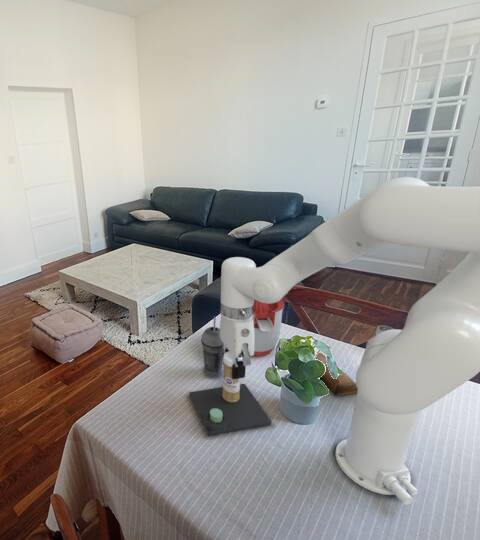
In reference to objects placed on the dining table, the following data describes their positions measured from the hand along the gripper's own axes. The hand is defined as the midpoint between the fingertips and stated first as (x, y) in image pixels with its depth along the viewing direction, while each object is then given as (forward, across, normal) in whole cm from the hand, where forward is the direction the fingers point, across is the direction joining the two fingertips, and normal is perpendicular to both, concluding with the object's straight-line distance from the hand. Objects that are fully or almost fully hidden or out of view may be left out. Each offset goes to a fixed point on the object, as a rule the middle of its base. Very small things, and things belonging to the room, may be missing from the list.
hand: (233, 370), depth 87 cm
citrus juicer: (+10, +21, -18) cm, 30 cm away
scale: (+10, -3, +2) cm, 11 cm away
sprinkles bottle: (+9, 0, 0) cm, 9 cm away
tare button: (+8, -7, +8) cm, 13 cm away
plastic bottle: (+10, -5, -36) cm, 37 cm away
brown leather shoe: (+10, +5, -31) cm, 33 cm away
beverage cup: (+10, +12, 0) cm, 16 cm away
